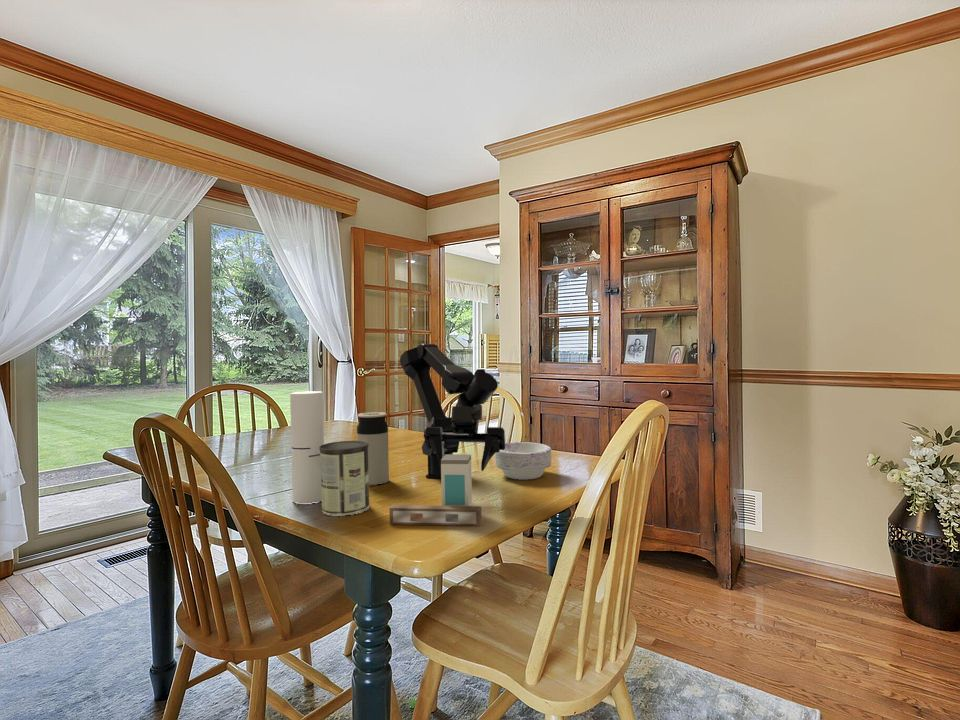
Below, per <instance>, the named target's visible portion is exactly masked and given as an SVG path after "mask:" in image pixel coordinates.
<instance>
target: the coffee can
mask: <svg viewBox="0 0 960 720" xmlns="http://www.w3.org/2000/svg"><path fill="white" fill-rule="evenodd" d="M368 446H369V444H368V443H367V442H363V441H357V440H341V441H332V442H329V443H324V445H321V446H320V447H319V449H320V463H321V496H322V502H321V513H322V512H323V513H324V514H329V515H335V516H334V517H338V516H340V517H346V516H345V515H351V516H355V515H354V514H356V515H359V514H363V513H365V512H367V511H368V510H370V507H371V506H370V505H371V504H370V486H369V473H368ZM364 511H365V512H364ZM323 513H322V514H323ZM358 513H359V514H358ZM324 514H323V515H324ZM337 515H338V516H337Z"/></svg>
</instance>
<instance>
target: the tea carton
mask: <svg viewBox="0 0 960 720" xmlns="http://www.w3.org/2000/svg"><path fill="white" fill-rule="evenodd" d="M440 480H441V482H440V483H441V485H440V486H441V487H440V488H441V506H473V501H472V500H473V497H472V496H473V492H472V490H473V489H472V487H473V486H472V484H473V483H472V482H473V481H472V454H459V453H458V454H454V453H453V454H445V456H444V457H443V458H442V459H441V478H440Z"/></svg>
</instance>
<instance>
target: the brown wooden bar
mask: <svg viewBox="0 0 960 720" xmlns="http://www.w3.org/2000/svg"><path fill="white" fill-rule="evenodd" d="M389 525H406V526H407V525H410V526H412V525H413V526H417V525H418V526H419V525H420V526H424V525H425V526H456V525H457V526H461V527H463V526H466V527H469V526H471V527H481V526H482V506H478V505H477V506H476V505H472V506H442V505H419V504H418V505H417V504H416V505H415V504H411V505H410V504H391V506H390V507H389Z"/></svg>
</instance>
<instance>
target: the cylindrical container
mask: <svg viewBox="0 0 960 720" xmlns="http://www.w3.org/2000/svg"><path fill="white" fill-rule="evenodd" d="M289 398H290V399H289V401H290V405H289V406H290V440H291V441H290V442H291V444H290V445H291V449H290V450H291V482H292V483H291V484H292V485H291V488H292V495H291V496H292V502H293V501H294V502H298V503H312V502H318V501H321V500H322V496H321V463H320V449H319V447H320V446H321V445H324V444H325V439H324V438H325V435H324V433H325V432H324V431H325V428H324V392H323V391H318V390H315V391H314V390H312V391H311V390H310V391H295V392H290V393H289Z"/></svg>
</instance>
